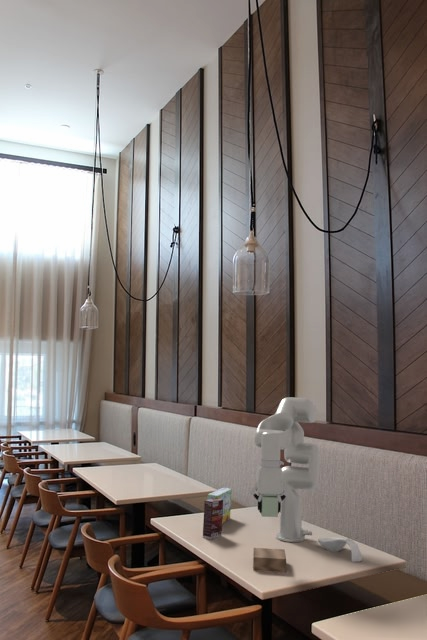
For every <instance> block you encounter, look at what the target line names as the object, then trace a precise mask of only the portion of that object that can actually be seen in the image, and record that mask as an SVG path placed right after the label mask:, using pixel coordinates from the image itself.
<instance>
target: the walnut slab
mask: <svg viewBox="0 0 427 640" xmlns="http://www.w3.org/2000/svg"><path fill="white" fill-rule="evenodd" d="M252 555H253V557H252V558H253V564H252V568H253V571H257V572H258V571H259V572H273V573H274V572H275V573H287V556H286V551H285V549H281V548H269V547H268V548H267V547H266V548H264V547H253V554H252Z"/></svg>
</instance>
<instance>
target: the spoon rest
mask: <svg viewBox="0 0 427 640" xmlns="http://www.w3.org/2000/svg"><path fill="white" fill-rule="evenodd" d="M317 541H318V543H319V545H320V546H321V547H322V548H324V549H325V550H327V551H328V552H329V551H330V552H340V551H341V550H342V549H344V548H345V547H346V545H348V546H349V548H350V552H351V562H352V563H356V562H362V561H363V557H362V554H361V550H360V548H359V546H358V545H357V543H356V542H355V540H353V539H352V538H347V539H345V538H341V537H334V536H333V537H332V536H331V537H320V538H318V539H317Z"/></svg>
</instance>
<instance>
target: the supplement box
mask: <svg viewBox="0 0 427 640" xmlns="http://www.w3.org/2000/svg"><path fill="white" fill-rule="evenodd" d="M203 508H204V509H203V522H202V523H203V524H202V525H203V527H202V538H205V539H208V540H211V539H215V538H218V537H220V536H221V537H222V535H223V532H222V531H223V523H222V517H223V499H218V498H214V499H210V500H207V499H205V500H204V504H203Z"/></svg>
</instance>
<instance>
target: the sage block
mask: <svg viewBox="0 0 427 640" xmlns="http://www.w3.org/2000/svg"><path fill="white" fill-rule="evenodd" d="M261 502H262V512H261V513H260V515H261V517H266V518H271V517H272V518H278V517H279V513H278V497H277V496H276V495H263V497H262V499H261Z"/></svg>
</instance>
